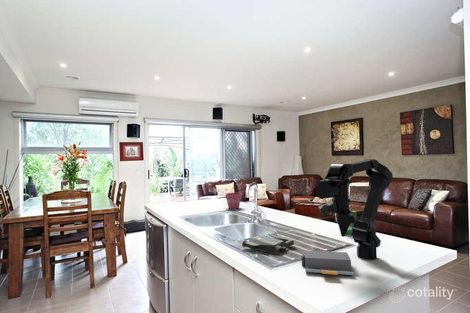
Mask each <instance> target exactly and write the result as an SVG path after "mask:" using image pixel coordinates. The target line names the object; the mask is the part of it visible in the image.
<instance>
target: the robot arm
mask: <svg viewBox="0 0 470 313" xmlns="http://www.w3.org/2000/svg"><path fill="white" fill-rule="evenodd" d="M360 172H365V174H366V175H367V177H368V182H369V185H370V187H369V191H368V194H367V198H366V200H365V204H364V208H363V210H362V213H361V217H360V218H359V219H356V220H355V217H354V216H353V215H352V214H351V211H352V210H351V208H350V203H351V199H350V191H349V189H350V188H349V185H350V184H353V181H352V180H350V178H351V177H353V176H354V174H357V173H360ZM393 176H394V174H393V172H392V171H391V170H390V169H389V168H388V167H387V166H386V165H384V164H383V163H380V162H379V161H378V160H377V159H375V158H370V159H368V158H366V159H363V160H360V161H355V162H351V163H331V164H330V166H329V169H328V170H327V172H326V175H325V177H324V179H322V180H319V183H318V184H317V185H316V187H315V194H316V196H317V197H318V199H321V200H324V199H325V200H326V199H331V201H330V202H327V203H324V204H322V205H319V206H318V210H319V212H320V214H321V216H327V215H329V214H331V215H333V214H334V216H332V218H333V219H334V221H335V223H337V225H338V229H339V232H340V235H341V237H343V238H344V237H346V235H345V234H346V232H347V230H348V228H349V226H350V224H354V225H353V227H352V235H353V236H352V235H351V236H352V239H353V241H354V243H356V244H357V246H356V256H357V258H358V259H363V260H367V261H374V260H377V258H378V256H377V252H378V251H377V248H379V247H380V246H381V242H382V240H381V239H380V238H379V237H378V235H377V228H376V224H375V221H376V218H377V214H378V210H379V207H380V203H381V200H382V197H383V193H384V190H385V189H386V188H388V187H389V186H390V185H391V182H392V180H393Z"/></svg>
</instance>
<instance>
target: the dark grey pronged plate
mask: <svg viewBox="0 0 470 313" xmlns="http://www.w3.org/2000/svg"><path fill="white" fill-rule="evenodd" d="M294 241H295V240H293V239H291V238H286V237H281V236H267V235H264V234H263V235H262V234H261V235H259V236H252V237H251V238H250V239H249V240H247V239H244V240H243V241H242V242H241V243H242V244H241V246H242V247H243V248H249V249H252V250H257V251H262V252H264V253H267V254H274V255H275V254H277V255H282V254H283V253H284V251H287V249H288V247H291V246H293V245H294V244H295V242H294Z"/></svg>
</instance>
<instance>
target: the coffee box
mask: <svg viewBox="0 0 470 313" xmlns="http://www.w3.org/2000/svg"><path fill="white" fill-rule="evenodd" d="M351 214H352V215H353V216H354V217H355V220H357V211H356V210H351ZM353 225H354V224H350V226H349V228H348V230H347V232H346V234H347V236H352V227H353Z"/></svg>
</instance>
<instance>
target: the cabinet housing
mask: <svg viewBox="0 0 470 313" xmlns="http://www.w3.org/2000/svg"><path fill="white" fill-rule="evenodd" d="M301 266H302V267H303V266H305V268H306V269H307V268H310V269H321V270H336V271H350V272H352V259H351V258H350V256H349V254H348V252H346V251H345V252H344V251H343V252H342V251H326V250H325V251H323V250H304V254H301Z"/></svg>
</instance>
